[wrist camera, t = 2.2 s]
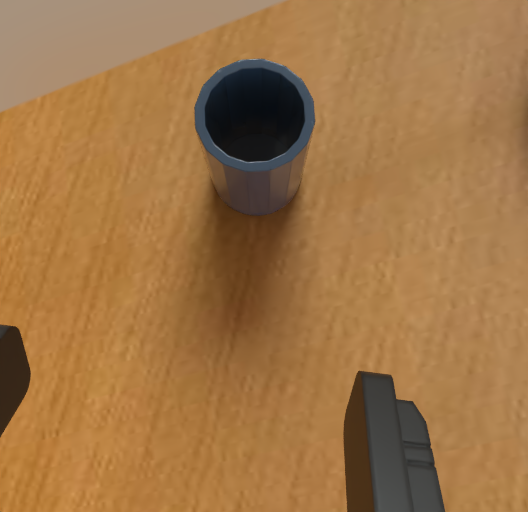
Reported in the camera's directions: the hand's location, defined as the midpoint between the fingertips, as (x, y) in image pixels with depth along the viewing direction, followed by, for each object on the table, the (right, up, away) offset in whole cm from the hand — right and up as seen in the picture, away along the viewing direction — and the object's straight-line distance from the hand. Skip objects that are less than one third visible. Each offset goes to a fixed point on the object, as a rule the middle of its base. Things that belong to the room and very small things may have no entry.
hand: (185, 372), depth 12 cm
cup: (+1, +8, +21) cm, 22 cm away
